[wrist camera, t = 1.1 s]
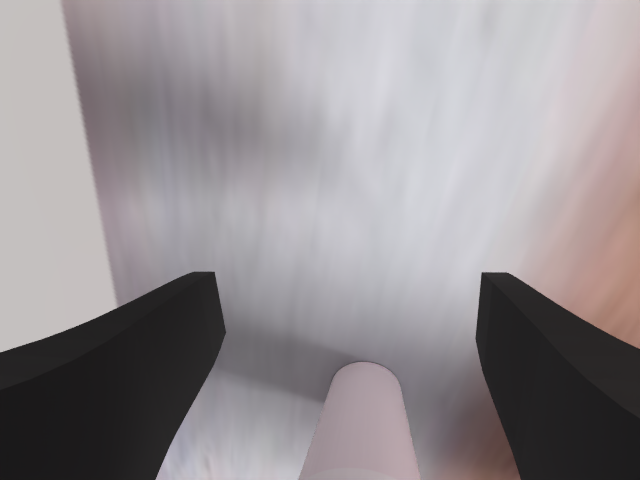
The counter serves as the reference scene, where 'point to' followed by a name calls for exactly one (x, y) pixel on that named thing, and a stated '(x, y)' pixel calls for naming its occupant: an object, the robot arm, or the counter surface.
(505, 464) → the counter surface
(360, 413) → the smoothie
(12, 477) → the robot arm
